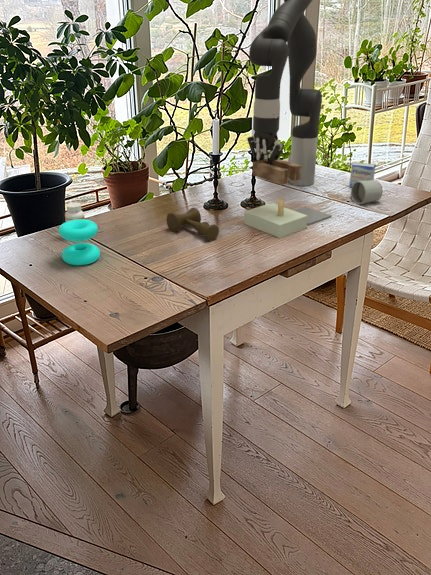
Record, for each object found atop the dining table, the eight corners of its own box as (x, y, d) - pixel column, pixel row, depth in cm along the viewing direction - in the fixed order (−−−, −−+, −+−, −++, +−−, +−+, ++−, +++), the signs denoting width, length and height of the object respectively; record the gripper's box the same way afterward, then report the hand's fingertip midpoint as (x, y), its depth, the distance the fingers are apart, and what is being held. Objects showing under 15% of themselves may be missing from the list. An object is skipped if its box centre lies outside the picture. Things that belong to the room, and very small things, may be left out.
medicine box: (348, 188, 212) (351, 164, 208) (351, 184, 216) (353, 161, 212) (370, 190, 210) (374, 166, 206) (372, 187, 213) (375, 163, 209)
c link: (252, 175, 174) (252, 162, 172) (271, 170, 179) (271, 157, 177) (281, 184, 166) (282, 171, 164) (300, 179, 171) (301, 165, 169)
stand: (243, 223, 181) (244, 195, 176) (271, 214, 188) (272, 187, 183) (279, 237, 171) (280, 208, 166) (306, 227, 178) (308, 199, 173)
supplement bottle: (86, 232, 174) (83, 201, 170) (86, 239, 170) (82, 207, 165) (68, 233, 173) (64, 202, 169) (67, 240, 169) (63, 208, 164)
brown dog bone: (200, 247, 166) (158, 225, 179) (225, 239, 172) (183, 219, 185) (200, 227, 163) (158, 207, 176) (226, 220, 169) (183, 201, 182)
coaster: (282, 215, 187) (282, 214, 186) (305, 208, 193) (305, 206, 193) (308, 225, 179) (308, 223, 179) (331, 217, 186) (331, 215, 186)
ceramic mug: (382, 203, 197) (385, 181, 194) (363, 207, 194) (366, 184, 191) (362, 194, 206) (364, 173, 202) (343, 198, 203) (345, 176, 199)
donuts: (92, 215, 159) (101, 228, 151) (95, 249, 163) (104, 263, 155) (54, 220, 155) (61, 234, 147) (59, 255, 160) (66, 269, 152)
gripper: (240, 112, 170) (239, 170, 178) (274, 119, 161) (272, 180, 169) (259, 108, 174) (257, 165, 183) (293, 116, 165) (289, 175, 173)
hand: (264, 172), depth 176 cm, fingers closed on c link, 2 cm apart
